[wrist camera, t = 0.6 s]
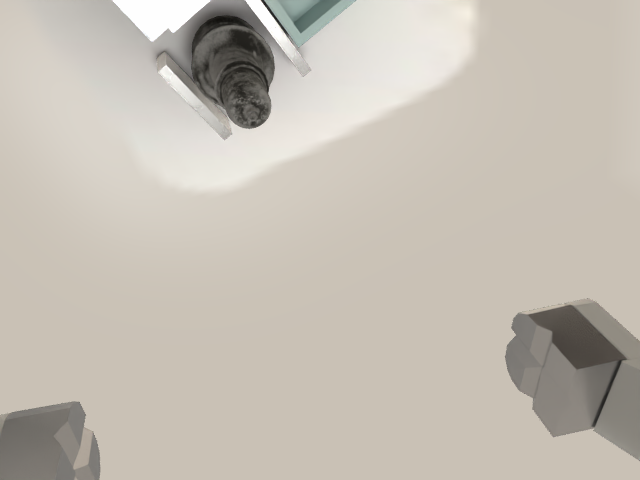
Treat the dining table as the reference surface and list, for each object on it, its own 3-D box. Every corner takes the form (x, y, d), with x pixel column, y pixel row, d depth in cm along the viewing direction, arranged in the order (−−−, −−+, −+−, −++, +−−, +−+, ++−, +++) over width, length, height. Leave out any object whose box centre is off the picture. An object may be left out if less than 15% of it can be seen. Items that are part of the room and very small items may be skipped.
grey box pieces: (63, -39, 33) (54, -24, 29) (162, -135, 31) (164, -131, 28) (219, 123, 42) (226, 149, 39) (301, 56, 41) (316, 77, 37)
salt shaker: (202, 98, 40) (219, 174, 31) (176, 22, 37) (188, 85, 28) (273, 78, 41) (310, 148, 32) (255, 2, 37) (291, 56, 28)
